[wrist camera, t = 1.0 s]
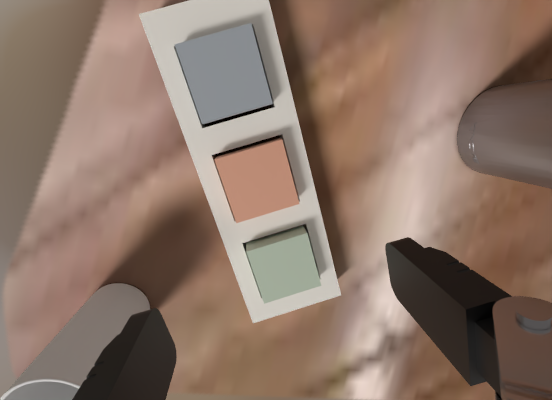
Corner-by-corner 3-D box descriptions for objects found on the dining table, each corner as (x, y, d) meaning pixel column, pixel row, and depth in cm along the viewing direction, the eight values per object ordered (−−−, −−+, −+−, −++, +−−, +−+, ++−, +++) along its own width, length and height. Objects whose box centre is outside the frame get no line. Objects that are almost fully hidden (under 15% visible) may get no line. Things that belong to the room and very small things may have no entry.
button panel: (261, -7, 24) (263, -21, 22) (333, 282, 33) (341, 295, 31) (148, 24, 24) (138, 14, 22) (252, 308, 33) (253, 323, 31)
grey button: (250, 30, 23) (251, 22, 21) (270, 104, 25) (272, 103, 23) (179, 50, 23) (174, 44, 21) (205, 123, 25) (202, 124, 23)
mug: (132, 270, 30) (66, 363, 18) (164, 318, 32) (122, 429, 20) (45, 308, 30) (-76, 425, 18) (82, 353, 32) (-6, 485, 20)
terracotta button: (279, 137, 26) (282, 139, 24) (295, 198, 28) (299, 203, 26) (216, 156, 26) (214, 159, 24) (236, 216, 28) (236, 223, 26)
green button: (302, 225, 29) (307, 232, 27) (316, 275, 30) (321, 285, 29) (245, 242, 28) (246, 251, 27) (262, 292, 30) (264, 303, 28)
